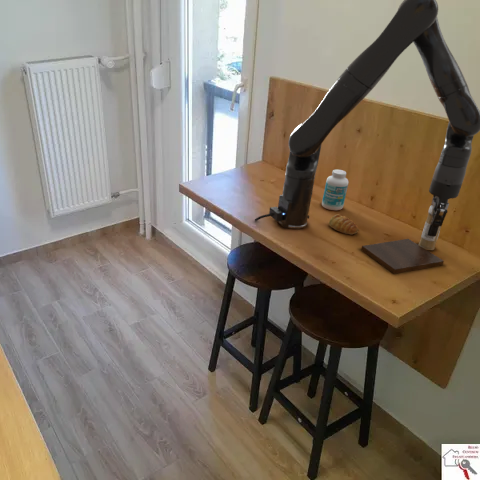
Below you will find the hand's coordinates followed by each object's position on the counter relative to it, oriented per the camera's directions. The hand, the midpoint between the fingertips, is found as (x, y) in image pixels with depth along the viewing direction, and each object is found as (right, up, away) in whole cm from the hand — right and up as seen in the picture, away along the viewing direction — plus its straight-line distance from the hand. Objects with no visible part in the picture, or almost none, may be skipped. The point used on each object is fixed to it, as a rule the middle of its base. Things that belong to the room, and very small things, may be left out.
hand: (430, 231), depth 142 cm
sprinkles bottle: (0, -5, +3) cm, 5 cm away
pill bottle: (-19, +9, +29) cm, 36 cm away
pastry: (-21, +1, +13) cm, 25 cm away
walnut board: (-11, -8, -3) cm, 14 cm away
